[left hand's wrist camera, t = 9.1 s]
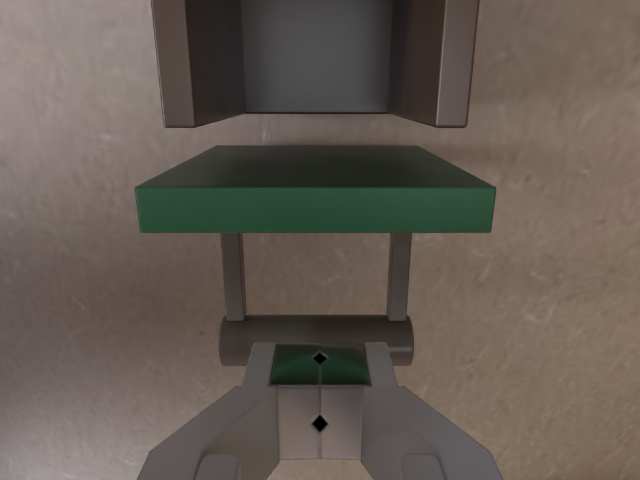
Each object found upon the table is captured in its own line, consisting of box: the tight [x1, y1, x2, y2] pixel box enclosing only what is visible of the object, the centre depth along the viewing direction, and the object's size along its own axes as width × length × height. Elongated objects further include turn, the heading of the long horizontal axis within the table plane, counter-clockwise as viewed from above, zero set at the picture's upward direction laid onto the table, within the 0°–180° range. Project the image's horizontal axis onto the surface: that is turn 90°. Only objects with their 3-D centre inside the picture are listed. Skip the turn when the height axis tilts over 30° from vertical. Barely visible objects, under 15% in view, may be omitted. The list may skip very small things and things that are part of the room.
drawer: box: [135, 0, 496, 366], centre depth 14 cm, size 20×9×9 cm, turn 0°
